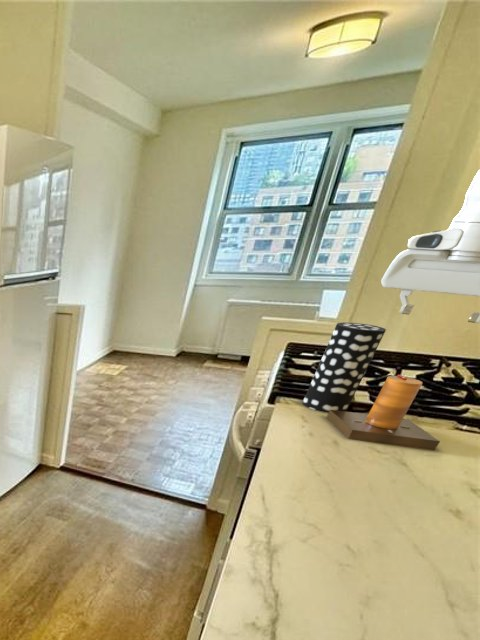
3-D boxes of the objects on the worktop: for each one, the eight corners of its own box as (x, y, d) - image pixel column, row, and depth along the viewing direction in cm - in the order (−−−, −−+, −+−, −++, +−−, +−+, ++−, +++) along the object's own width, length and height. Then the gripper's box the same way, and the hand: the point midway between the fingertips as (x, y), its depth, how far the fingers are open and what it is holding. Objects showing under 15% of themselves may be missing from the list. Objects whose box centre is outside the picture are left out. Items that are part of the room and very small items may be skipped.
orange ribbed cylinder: (403, 430, 101) (429, 384, 96) (371, 426, 102) (395, 380, 98) (391, 421, 105) (415, 376, 100) (360, 417, 107) (383, 373, 102)
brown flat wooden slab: (402, 429, 107) (408, 418, 106) (433, 452, 97) (440, 440, 96) (325, 419, 112) (330, 408, 111) (347, 440, 102) (352, 429, 101)
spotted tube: (316, 400, 123) (352, 321, 113) (353, 413, 116) (395, 329, 106) (293, 404, 120) (328, 323, 111) (329, 417, 113) (370, 332, 104)
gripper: (572, 243, 81) (521, 325, 88) (405, 236, 96) (372, 307, 102) (572, 244, 78) (519, 330, 84) (399, 237, 92) (365, 311, 99)
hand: (437, 317), depth 93 cm, fingers open, 8 cm apart
